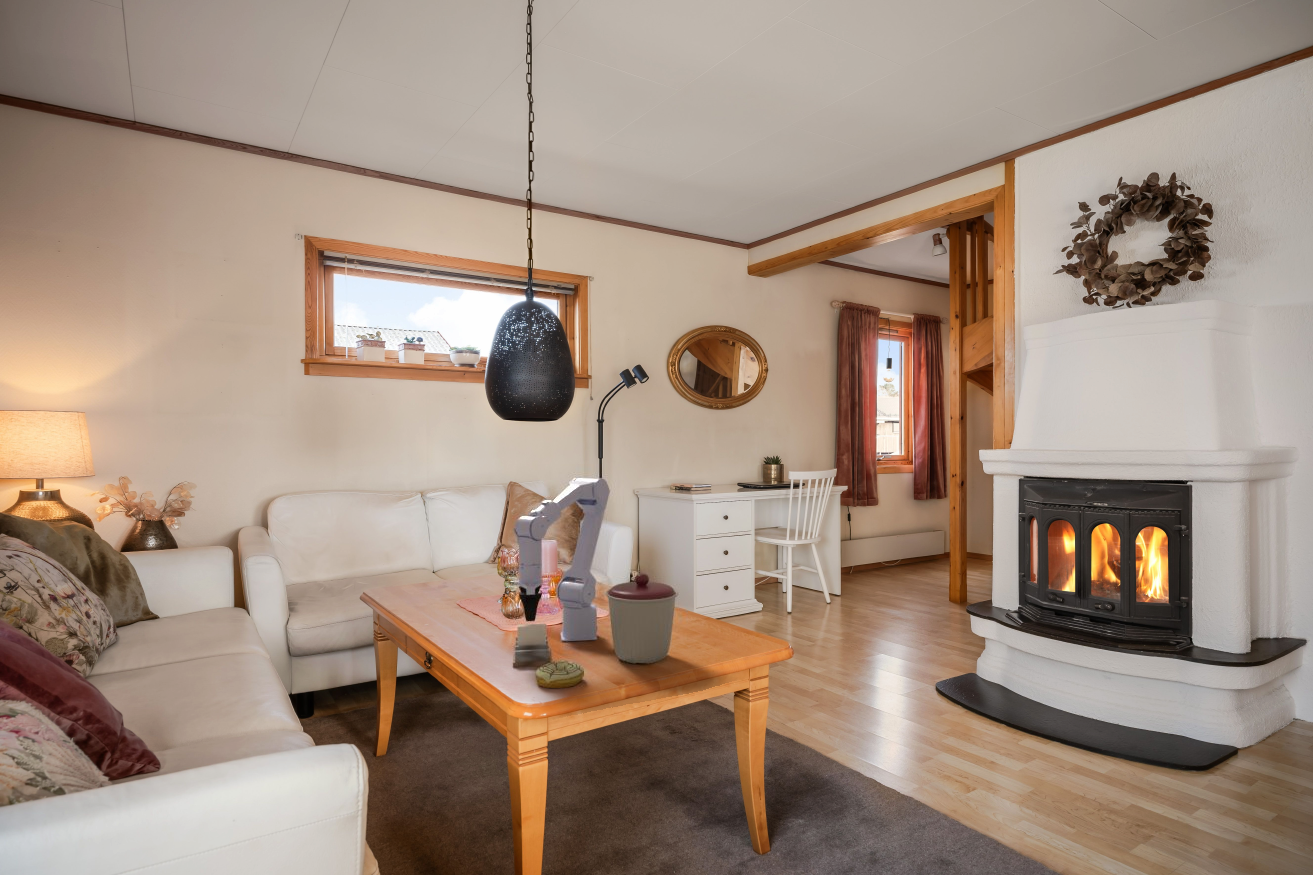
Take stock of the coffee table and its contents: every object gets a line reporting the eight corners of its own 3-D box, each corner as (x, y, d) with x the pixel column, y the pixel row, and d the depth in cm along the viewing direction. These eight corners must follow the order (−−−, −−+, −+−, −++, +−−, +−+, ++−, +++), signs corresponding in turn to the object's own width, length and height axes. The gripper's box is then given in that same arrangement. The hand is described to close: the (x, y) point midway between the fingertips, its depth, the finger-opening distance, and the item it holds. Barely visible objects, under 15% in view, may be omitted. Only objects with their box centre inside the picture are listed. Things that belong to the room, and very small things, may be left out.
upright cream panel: (545, 651, 180) (545, 623, 180) (546, 653, 178) (546, 625, 178) (517, 652, 179) (517, 624, 179) (517, 654, 177) (517, 626, 177)
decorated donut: (528, 679, 163) (528, 663, 163) (571, 671, 168) (571, 655, 168) (546, 693, 154) (546, 676, 154) (591, 684, 160) (591, 667, 160)
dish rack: (549, 648, 186) (549, 634, 186) (550, 664, 173) (550, 650, 173) (513, 649, 185) (513, 636, 185) (512, 666, 171) (512, 652, 171)
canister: (692, 658, 178) (693, 574, 178) (637, 674, 166) (637, 584, 166) (645, 643, 191) (645, 564, 191) (590, 656, 179) (591, 572, 179)
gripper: (514, 559, 188) (514, 610, 188) (513, 569, 173) (513, 625, 174) (541, 558, 189) (541, 609, 189) (543, 568, 175) (543, 623, 175)
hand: (530, 616), depth 181 cm, fingers open, 7 cm apart
